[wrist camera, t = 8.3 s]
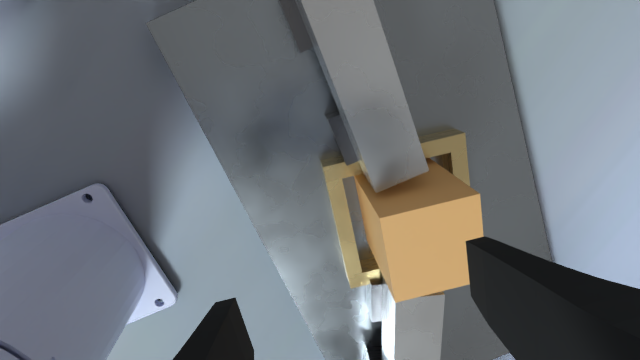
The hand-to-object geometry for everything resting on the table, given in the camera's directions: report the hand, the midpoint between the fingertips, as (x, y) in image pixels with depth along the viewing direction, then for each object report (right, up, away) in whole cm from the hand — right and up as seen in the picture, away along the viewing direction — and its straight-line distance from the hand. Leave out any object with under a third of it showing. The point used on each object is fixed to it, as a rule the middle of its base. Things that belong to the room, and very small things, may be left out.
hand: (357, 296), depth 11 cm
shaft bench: (+3, +2, +10) cm, 11 cm away
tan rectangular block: (+3, +2, +9) cm, 10 cm away
